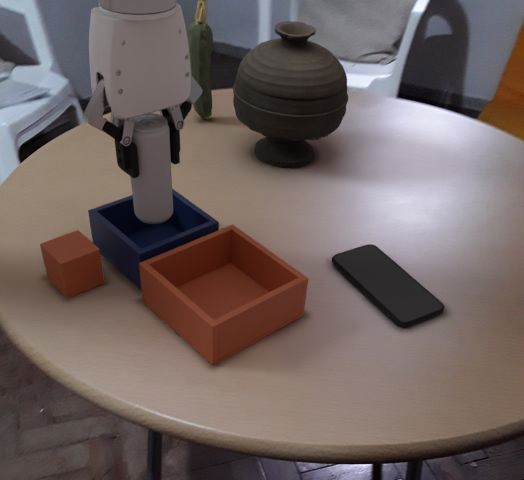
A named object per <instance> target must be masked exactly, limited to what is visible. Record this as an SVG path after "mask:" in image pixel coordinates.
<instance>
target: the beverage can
mask: <svg viewBox="0 0 524 480" xmlns="http://www.w3.org/2000/svg"><path fill="white" fill-rule="evenodd" d="M167 123H168V121H167V119H166V118H165V117H164V116H162V115H161V114H160V113H159V114H158V113H156V112H152V113H149V114H145V115H141V116H138V117H135V122H134V129H133V135H132V142H133V143H135V144H136V146H137V152H138V164H139V176H138V177H137V178H132V177H131V176H130V175H129V177H130V184H131V186H130V187H131V195H133V204H134V212H135V215H136V216H137V218H138V219H139V220H141V221H142V222H144V223H148V224H159V223H163V222H165V221H167V220H168V219H169V218H170V217H171V216H172V214H173V194H172V189H173V177H172V175H173V174H172V163H171V154H170V134H169V126H168V124H167Z"/></svg>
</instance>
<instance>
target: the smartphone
mask: <svg viewBox="0 0 524 480" xmlns="http://www.w3.org/2000/svg"><path fill="white" fill-rule="evenodd" d="M331 263H332V264H333V266H335V268H336V269H337V270H338V271H340V272H341V273H342V275H344V276H345V277H346V278H347V279H348V280H349V281H350V282H351V283H352V284H353V285H355V287H356V288H358V289H359V290H360V291H361V292H362V293H363V294H364V295H365V296H366V297H367V298H368V299H369V300H370V301H371V302H373V304H375V305H376V307H378V308H379V309H380V310H381V312H383V313H384V314H385V315H386V316H387V317H388V318H389V319H390V320H391V321H393V322H394V323H395V324H396V325H397V326H399V327H401V328H406V327H411V326H413V325H415V324H417V323H418V324H419V323H421V322H423V321H426V320H429V319H431V318H432V317H436V316H438V315H441V314H443V312H444V311H445V305H444V303H443V302H442V301H440V299H439V298H437V297H436V296H435V295H434V294H433V293H431V292H430V291H429V290H428V289H427V288H426V287H425V286H423V285H422V284H421V283H420V282H419V281H417V279H415V277H413V276H412V275H411V274H410V273H408V272H407V271H406V270H405V269H404V268H402V267H401V266H400V265H399V264H398V263H397V262H396V261H394V260H393V258H391V257H390V256H389V255H387V254H386V253H385V252H384V251H383V250H382V249H380V248H379V247H378V246H377V245H375V244H371V243H370V244H369V243H368V244H364V245H361V246H358V247H355V248H351V249H348V250H345V251H342V252H338V253H336V254H334V255H332V258H331Z"/></svg>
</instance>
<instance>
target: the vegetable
mask: <svg viewBox="0 0 524 480" xmlns="http://www.w3.org/2000/svg"><path fill="white" fill-rule="evenodd" d="M206 2H207V1H206V0H197V5H196V6H197V7H196V10H195V13H194V21H192V22H191V23H190V24H189V26H188V28H187V30H186V32H187V39H188V46H189V55H190V68H191V75H192V76H193V78H194V79H195V80H196V82H197V83H198V84H199V86H200V87H201V88H202V94H201V95H200V97H199V98H198V99H197V101H196V102H195V103H194V104H192V107H193V109H194V111H195V113H196V114H197V115H198V116H199V117H200V119H201V120H210V119H211V118H210V117H212V114H213V112H212V110H213V94H212V85H211V72H210V69H211V68H210V67H211V59H212V51H213V46H214V45H213V44H214V34H213V29H212V28H211V26H210V25H209V24H208V23H207V22H206V21H207V3H206Z"/></svg>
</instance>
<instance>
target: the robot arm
mask: <svg viewBox="0 0 524 480" xmlns="http://www.w3.org/2000/svg"><path fill="white" fill-rule="evenodd" d="M97 2H98V6H96V7H92V8H91V10H90V18H89V32H88V59H89V76H90V79H89V80H90V88H91V97H90V99H89V101H88V103H87V106H86V107H85V110H84V111H83V114H82V120H83V121H84V122H85V123H87V124H88V125H90V126H91V127H93V128H95V129H97V130H99V131H101V132H103V133H105V134H106V135H108V136H109V137H110V138H112V139H113V140H114V148H115V156H116V163H117V166H118V167H119V169H120V170H122V171H123V172H124V173H126V174H127V175H128V176H129V177H130V176H131V177H132V178H137V177H138V176H139V164H138V152H137V146H136V144H135V143H133V142H132V135H133V129H134V122H135V117H138V116H141V115H145V114H149V113H156V112H159V115H162V116H164V117H165V118H166V119H167V121H168V123H167V124H168V126H169V134H170V154H171V164H172V165H178V164H180V163H181V156H180V153H181V132H180V131H182V130H183V129H184V127H185V120H186V118H187V116H188V115H189V113H190V112H191V111H192V107H193V104H194V103H195V102H196V101H197V99H198V98H199V97H200V95H201V94H202V88H201V87H200V86H199V84H198V83H197V82H196V80H195V79H194V78H193V76H192V75H191V68H190V55H189V46H188V39H187V26H186V22H185V18H184V14H183V10H182V6H181V5H180V4H179V3H177V0H97ZM106 108H110V110H111V111H110V120H108V119H106V118H105V117H104V116H103V115H104V112H105V111H106Z"/></svg>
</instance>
